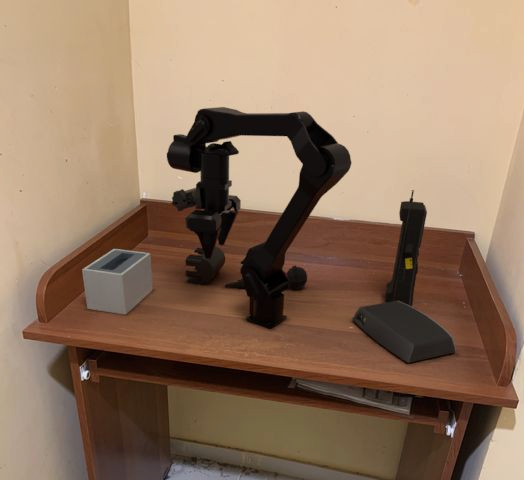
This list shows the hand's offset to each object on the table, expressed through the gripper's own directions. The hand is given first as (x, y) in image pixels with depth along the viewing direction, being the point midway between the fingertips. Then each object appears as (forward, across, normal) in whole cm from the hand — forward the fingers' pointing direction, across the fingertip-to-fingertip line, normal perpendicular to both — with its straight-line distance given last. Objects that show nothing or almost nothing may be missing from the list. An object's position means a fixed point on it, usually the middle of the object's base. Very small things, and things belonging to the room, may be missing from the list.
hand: (214, 251), depth 112 cm
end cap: (+12, -13, -7) cm, 19 cm away
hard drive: (+12, +4, +41) cm, 43 cm away
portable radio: (+12, -13, +40) cm, 44 cm away
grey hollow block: (+8, +5, -16) cm, 18 cm away
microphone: (+12, -13, +9) cm, 20 cm away
